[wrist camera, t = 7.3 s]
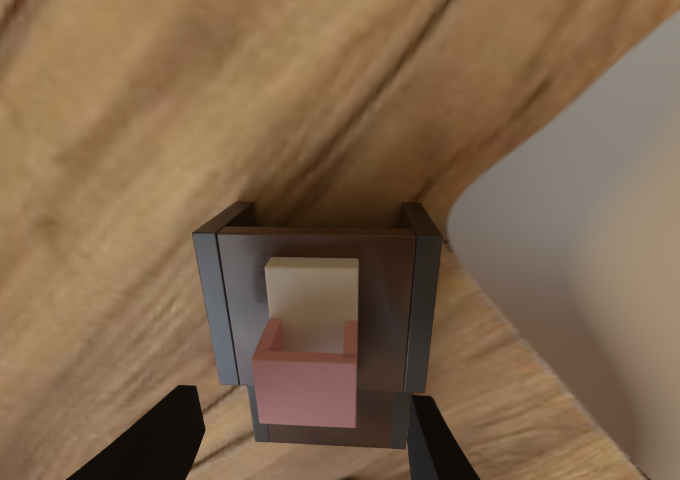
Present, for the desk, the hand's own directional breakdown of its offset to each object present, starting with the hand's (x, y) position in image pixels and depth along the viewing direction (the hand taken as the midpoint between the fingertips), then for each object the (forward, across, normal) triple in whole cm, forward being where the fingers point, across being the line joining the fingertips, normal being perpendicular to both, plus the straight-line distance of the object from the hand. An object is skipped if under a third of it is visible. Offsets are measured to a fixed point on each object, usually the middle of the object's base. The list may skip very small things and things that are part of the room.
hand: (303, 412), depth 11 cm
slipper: (+4, 0, -1) cm, 4 cm away
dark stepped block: (+9, 0, +3) cm, 10 cm away
